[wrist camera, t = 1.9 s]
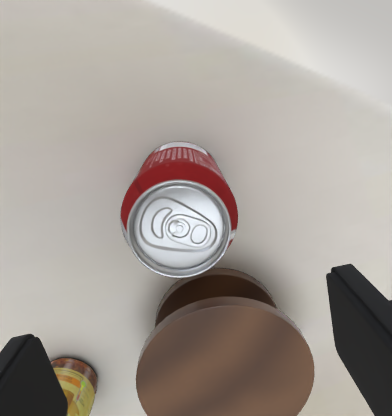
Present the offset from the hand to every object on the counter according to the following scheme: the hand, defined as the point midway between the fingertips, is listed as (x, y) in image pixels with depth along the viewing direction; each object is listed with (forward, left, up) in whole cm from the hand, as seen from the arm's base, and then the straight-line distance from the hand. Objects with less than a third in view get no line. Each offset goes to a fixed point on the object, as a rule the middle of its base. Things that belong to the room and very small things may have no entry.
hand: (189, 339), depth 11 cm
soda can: (-1, 0, -20) cm, 20 cm away
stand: (+10, -10, -20) cm, 24 cm away
